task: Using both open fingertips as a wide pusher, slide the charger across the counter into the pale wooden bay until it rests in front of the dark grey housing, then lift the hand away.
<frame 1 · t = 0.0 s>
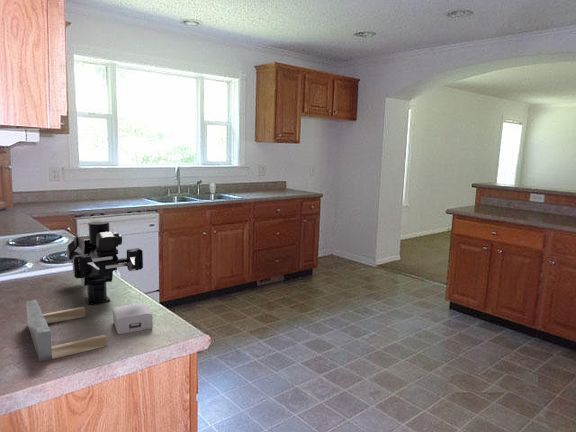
hand: (117, 269, 116), 17 cm above the countertop, tool horizontal, fingers open, 9 cm apart
charger: (131, 322, 123), on the countertop
guarded bay: (70, 334, 113), on the countertop
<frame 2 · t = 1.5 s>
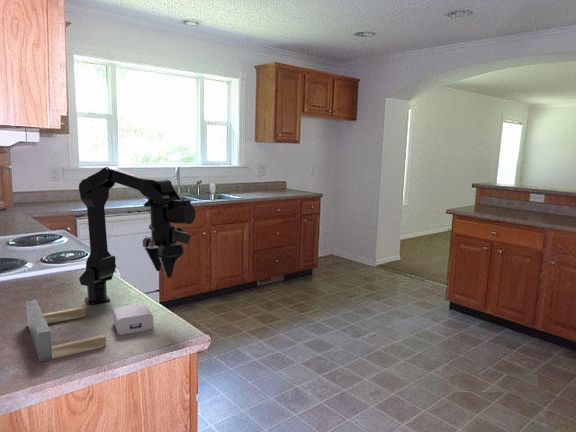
hand: (163, 274, 127), 12 cm above the countertop, tool pointing down, fingers open, 9 cm apart
nothing on the countertop moved.
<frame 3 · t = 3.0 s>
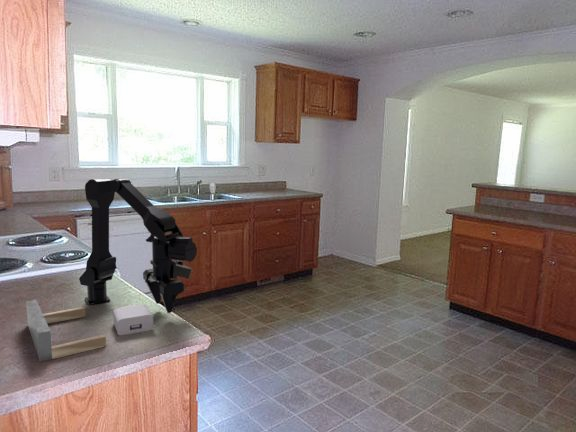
hand: (163, 307, 128), 2 cm above the countertop, tool pointing down, fingers open, 9 cm apart
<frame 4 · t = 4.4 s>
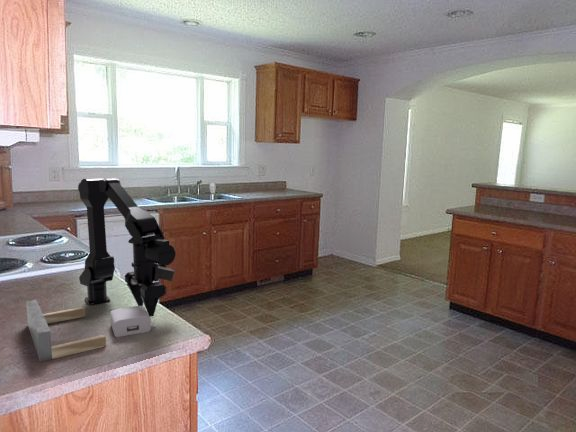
hand: (145, 311, 125), 2 cm above the countertop, tool pointing down, fingers open, 9 cm apart
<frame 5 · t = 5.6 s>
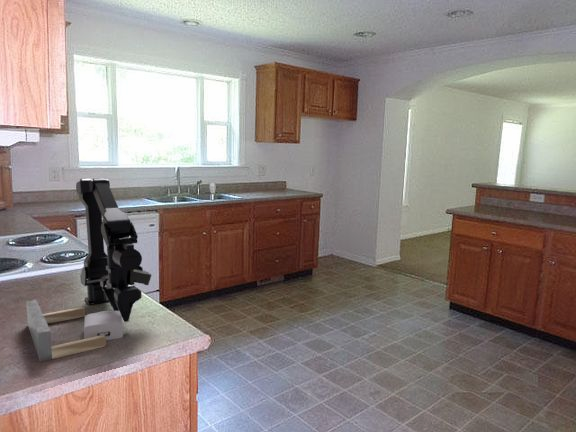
hand: (121, 316, 121), 2 cm above the countertop, tool pointing down, fingers open, 9 cm apart
charger: (103, 330, 117), on the countertop, touching gripper
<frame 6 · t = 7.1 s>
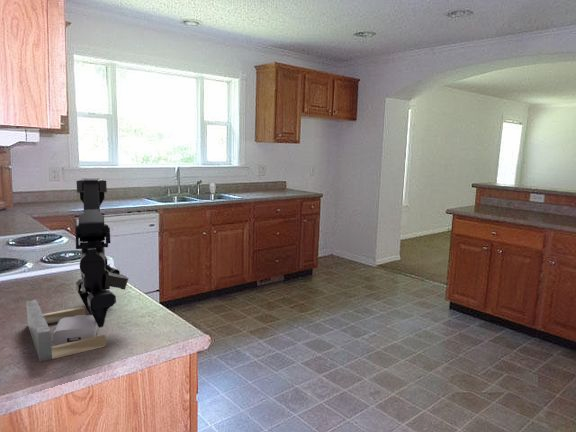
hand: (96, 321, 117), 2 cm above the countertop, tool pointing down, fingers open, 9 cm apart
charger: (78, 335, 114), on the countertop
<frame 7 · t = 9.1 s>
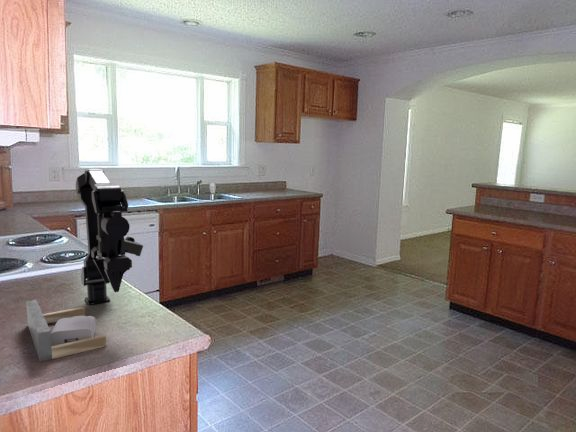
hand: (111, 287, 118), 11 cm above the countertop, tool pointing down, fingers open, 9 cm apart
nothing on the countertop moved.
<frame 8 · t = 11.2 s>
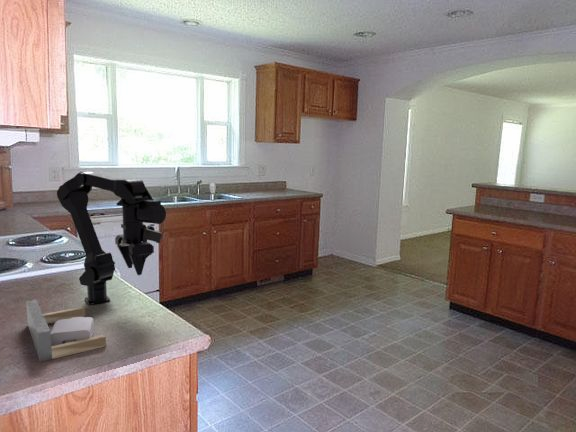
hand: (134, 271, 131), 12 cm above the countertop, tool pointing down, fingers open, 9 cm apart
at the end: charger inside the target area (2.1 cm from its centre), on the countertop; charger moved 15.4 cm from its start; charger tilted 0° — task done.
